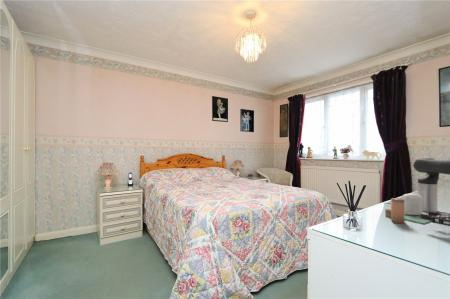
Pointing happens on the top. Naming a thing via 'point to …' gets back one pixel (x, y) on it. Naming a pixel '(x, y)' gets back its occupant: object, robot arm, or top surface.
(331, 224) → the top surface
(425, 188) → the robot arm
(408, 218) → the green mat
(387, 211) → the letter block
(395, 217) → the canister
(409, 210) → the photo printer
